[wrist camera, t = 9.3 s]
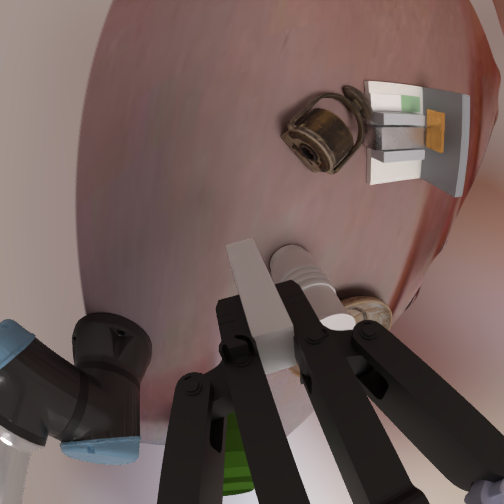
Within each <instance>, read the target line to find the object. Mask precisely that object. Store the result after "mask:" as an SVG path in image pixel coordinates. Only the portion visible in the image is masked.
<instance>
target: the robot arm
mask: <svg viewBox="0 0 504 504" xmlns="http://www.w3.org/2000/svg"><path fill="white" fill-rule="evenodd" d="M226 249H227V253H228V257H229V261H230V265H231V269H232V273H233V277H234V280H235V284H236V288H237V291H238V295H236V296H232V297H229V298H225V299H221V300H218V303H217V306H216V314H217V319H218V324H219V330H220V335H221V340H222V341H221V343H220V345H219V353H220V355H221V357H222V361H221V362H220V364H219V365H218V366H217V367H215V368H214V369H212V370H211V371H209V372H207V373H205V374H202V373H197V372H193V373H188V374H186V375H184V376H182V377H181V378H180V380H179V381H178V382H177V385H176V388H175V393H174V398H173V404H172V409H171V415H170V420H169V426H168V432H167V438H166V444H165V451H164V457H163V463H162V470H161V477H160V484H159V492H158V500H157V504H222V498H223V479H224V462H225V445H226V429H227V415H228V414H230V413H231V412H233V411H235V414H236V419H237V423H238V427H239V431H240V435H241V439H242V443H243V447H244V451H245V455H246V459H247V462H248V466H249V470H250V474H251V477H252V481H253V484H254V488H255V491H256V495H257V498H258V501H259V504H310V502H309V499H308V496H307V494H306V491H305V488H304V486H303V483H302V480H301V478H300V475H299V472H298V469H297V466H296V463H295V461H294V458H293V455H292V452H291V449H290V446H289V444H288V441H287V438H286V435H285V432H284V429H283V426H282V423H281V420H280V417H279V414H278V411H277V408H276V405H275V402H274V399H273V396H272V393H271V390H270V387H269V384H268V381H267V378H266V374H270V373H273V372H277V371H280V370H283V369H286V368H290V367H293V366H296V361H297V364H298V366H299V368H300V382H301V384H303V383H304V386H305V388H306V391H307V393H308V396H309V398H310V400H311V403H312V405H313V408H314V410H315V412H316V415H317V417H318V420H319V422H320V425H321V427H322V429H323V432H324V434H325V436H326V439H327V441H328V444H329V446H330V449H331V451H332V454H333V456H334V458H335V461H336V463H337V465H338V468H339V471H340V473H341V475H342V478H343V480H344V483H345V485H346V487H347V490H348V492H349V495H350V497H351V499H352V502H353V504H429V502H428V500H427V498H426V496H425V495H424V493H423V492H422V491H421V490H419V489H417V488H416V487H415V486H414V485H413V484H412V483H411V481H410V479H409V477H408V475H407V473H406V471H405V469H404V467H403V465H402V463H401V461H400V459H399V457H398V455H397V453H396V451H395V449H394V447H393V445H392V443H391V441H390V439H389V437H388V435H387V433H386V431H385V429H384V427H383V426H382V424H381V422H380V420H379V418H378V416H377V414H376V412H375V410H374V408H373V406H372V405H371V403H370V401H369V399H368V397H369V398H370V399H371V400H372V401H373V402H374V403H375V404H376V405H377V406H378V408H379V409H380V410H381V411H382V412H383V413H384V414H385V415H386V416H387V417H388V418H389V419H390V420H391V421H392V422H393V423H394V424H395V425H396V426H397V427H398V429H399V430H400V431H401V432H402V433H403V434H404V435H405V436H406V437H407V438H408V439H409V440H410V441H411V442H412V443H413V444H414V445H415V446H416V447H417V448H418V449H419V450H420V451H421V453H422V454H423V455H424V456H425V457H426V458H427V459H428V460H429V461H430V462H431V463H432V464H433V465H434V466H435V467H436V468H437V469H438V470H439V471H440V472H441V473H442V474H443V475H444V476H445V477H446V478H447V479H448V480H449V481H450V482H452V483H453V484H454V485H456V486H457V487H459V488H460V489H463V490H465V491H468V494H467V495H466V496H465V499H464V501H465V503H466V504H504V436H503V435H502V434H501V433H500V432H499V431H498V430H497V429H496V428H495V427H494V426H493V425H492V424H491V423H490V422H489V421H488V420H487V419H486V418H485V417H484V416H483V415H482V414H481V413H480V412H478V410H476V409H475V408H474V407H473V406H472V405H471V404H470V403H469V402H468V401H467V400H466V399H465V398H464V397H462V396H461V395H460V394H459V393H458V392H457V391H456V390H455V389H454V388H453V387H451V385H449V384H448V383H447V382H446V381H445V380H444V379H443V378H442V377H441V376H439V375H438V374H437V373H436V372H435V371H434V370H433V369H432V368H431V367H429V366H428V365H427V364H426V363H425V362H424V361H422V359H420V358H419V357H418V356H417V355H416V354H415V353H413V352H412V351H411V350H410V349H409V348H408V347H407V346H406V345H404V344H403V343H402V342H401V341H400V340H399V339H397V338H396V337H395V336H394V335H393V334H392V333H391V332H389V331H388V330H387V329H386V328H385V327H384V326H382V325H381V324H380V323H378V322H376V321H373V320H363V321H360V322H358V323H357V324H356V325H355V326H354V328H353V330H332V329H329V328H327V327H326V326H324V325H323V324H322V323H321V322H320V320H319V318H318V317H317V315H316V313H315V311H314V310H313V308H312V306H311V304H310V303H309V301H308V300H307V297H306V296H305V294H304V292H303V290H302V289H301V287H300V285H299V284H297V283H296V282H294V281H293V280H288V281H284V282H281V283H277V284H274V283H273V281H272V279H271V276H270V274H269V272H268V270H267V268H266V266H265V264H264V261H263V259H262V257H261V255H260V253H259V251H258V249H257V246H256V244H255V242H254V240H253V238H249V239H245V240H241V241H237V242H233V243H230V244H226ZM72 345H73V358H74V365H72V364H70V363H69V362H68V361H66V360H65V359H64V358H62V357H61V356H59V355H58V354H56V353H55V352H54V351H52V350H51V349H50V348H48V347H47V346H46V345H44V344H43V343H42V342H40V341H39V340H38V339H37V338H36V337H35V335H34V334H32V333H30V332H28V331H27V330H26V329H24V328H23V327H22V326H20V325H19V324H18V323H17V322H15V321H13V320H11V319H6V320H4V321H2V322H1V323H0V504H22V497H23V491H24V485H25V479H26V474H27V469H28V464H29V460H30V456H31V453H32V452H33V451H36V450H39V449H42V448H44V447H45V444H46V440H47V437H48V435H49V436H52V437H54V438H56V439H58V440H60V441H61V443H60V447H61V450H62V452H63V453H64V454H65V455H67V456H69V457H72V458H74V459H78V460H81V461H86V462H91V463H98V464H110V465H122V464H129V463H132V462H134V461H136V460H137V458H138V456H139V443H140V440H141V437H140V383H141V381H142V378H143V376H144V374H145V372H146V369H147V367H148V365H149V363H150V361H151V354H152V344H151V341H150V339H149V337H148V335H147V334H146V333H145V332H144V330H142V329H141V328H140V327H139V326H138V325H136V324H135V323H133V322H131V321H130V320H127V319H125V318H123V317H120V316H117V315H113V314H107V313H95V314H90V315H87V316H84V317H83V318H81V319H80V320H79V321H78V322H77V324H76V326H75V329H74V332H73V335H72ZM367 396H368V397H367Z"/></svg>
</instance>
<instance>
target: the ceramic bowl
mask: <svg viewBox="0 0 504 504" xmlns="http://www.w3.org/2000/svg"><path fill="white" fill-rule="evenodd" d="M340 302H341V303H342V305H343V306H344V308H345V309H346V311H347V312H348V313H350V314H351V315H352V316H353V318H354V319H355V323H356V324H357V323H358V322H360V321H363V320H373V321H376V322H378V323H380V324H381V325H382V326H384V327H385V328H386V329H387V330H388V331H389V330H390V327H391V323H392V312H391V310H390V308H389V306H388V305H387V304H386V303H385V302H384V301H382V300H381V299H379V298H376V297H371V296H357V297H351V298H347V299H344V300H341V301H340ZM289 370H290V371H291V372H292V373H293V374H294V375H296V376H298V377H300V368H299V366H298V364H297V361H296V366H293V367H290V368H289Z"/></svg>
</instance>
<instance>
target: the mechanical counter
mask: <svg viewBox="0 0 504 504" xmlns="http://www.w3.org/2000/svg"><path fill="white" fill-rule="evenodd" d="M344 93H345V96H346V97H347V98H346V97H344V96H343V95H340V94H336V93H326V94H322V95H319V96H318V97H316V98H315V99H313V100H312V101H311V102H310V103H309V104H308V105H307V106H305V107H304V108H303V109H302V110H301V111H300V112H299V113H298V114H297V115H296V116H294V117H293V118H292V119H291V120H290V121H289V123H288V124H287V127H288V130H289V131H287V132H285V133H284V134H282V136H281V137H282V139H283V140H284V141H285V142H286V143H287V144H288V145H289V146H290V148H291V149H292V150H293V151H294V152H295V153H296V154H297V156H298V157H299V158H300V159H301V160H302V161H303V162H304V163H305V164H306V165H307V167H308V168H309V169H310V170H311V171H312V172H326V173H328V174H335V173H337V172H338V171H339V170H340V169H341V168H342V167H343V165H344V164H345V163H346V162H347V161H348V160H349V159H350V158H351V157H352V156H353V155H354V153H355V152H356V151H357V150H358V149H359V147H360V146H361V144H362V142H363V138H364V132H365V130H364V122H363V119H362V117H363V118H365V119H367V120H369V119H371V118H372V116H373V110H372V107H371V104H370V102H369V100H368V99H367V97H366V96H365V95H364V94H363V93H362V92H361V91H360V90H358V89H356V88H354V87H352V86H345V87H344ZM322 98H334V99H337V100H340V101H342V102H343V103H345V104H346V105H347V106H348V107H349V109H350V110H351V112H352V113H353V114H354V115H355V117H356V120H357V122H358V128H359V133H358V138H357V141H356V144H355V145H354V146H353V144H354V142H353V137H352V134H351V131H350V130H349V128H348V127H347V125H346V124H345V123H344V122H343V121H342V120H341V119H340V118H339V117H338V116H337V115H335V114H334V113H332V112H330V111H328V110H325V109H320V108H317V109H314V110H312V111H311V112H310V113H309V114H308V115H307V116H306V117H305V118H304V119H303V120H301V121H300V122H299V123H298V124H297V125H296V126H295V125H294V123H295V122H296V121H297V120H299V119H300V118H301V117H302V116H303V115H304V114H305V113H306V112H307V111H308V110H309V109H310V108H311V107H312V106H313V105H315V104H316V103H317V102H318V101H319V100H320V99H322Z"/></svg>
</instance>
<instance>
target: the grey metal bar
mask: <svg viewBox="0 0 504 504" xmlns="http://www.w3.org/2000/svg"><path fill="white" fill-rule="evenodd" d="M364 130H365V132H364V146H366V147H368V148H371V149H373V150H376V151H377V150H391V149H409V148H430V149H432V150H435V151H437V152H439V153H443V150H444V131H445V113H442V112H438V111H434V110H430V109H427V127H424V126H421V125H382V124H364Z"/></svg>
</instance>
